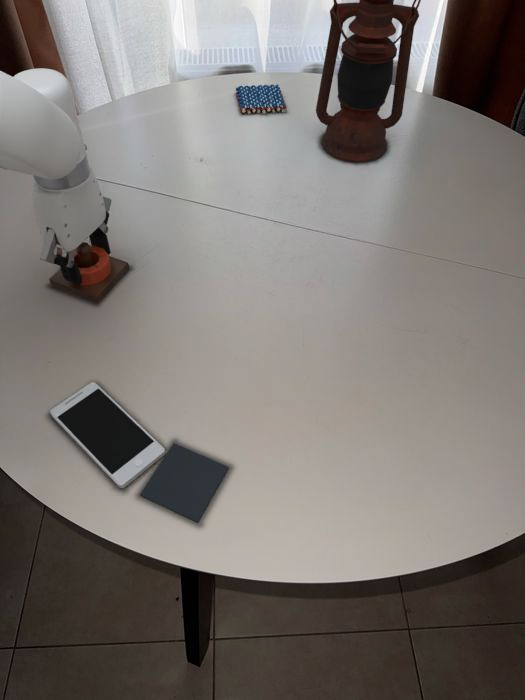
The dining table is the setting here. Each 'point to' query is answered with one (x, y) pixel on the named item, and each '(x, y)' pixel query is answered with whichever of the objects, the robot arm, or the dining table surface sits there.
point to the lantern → (364, 77)
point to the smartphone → (108, 434)
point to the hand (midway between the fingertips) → (87, 265)
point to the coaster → (185, 482)
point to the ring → (95, 266)
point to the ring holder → (96, 290)
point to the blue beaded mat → (260, 98)
